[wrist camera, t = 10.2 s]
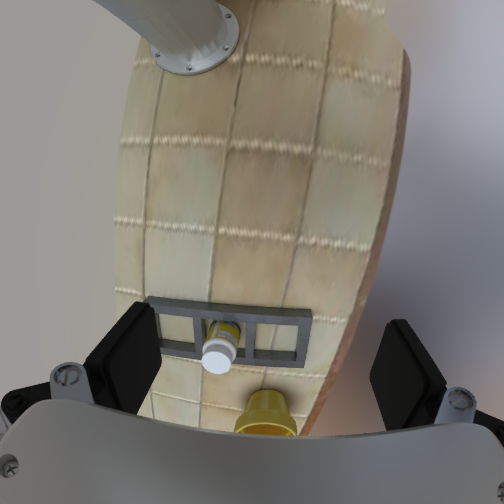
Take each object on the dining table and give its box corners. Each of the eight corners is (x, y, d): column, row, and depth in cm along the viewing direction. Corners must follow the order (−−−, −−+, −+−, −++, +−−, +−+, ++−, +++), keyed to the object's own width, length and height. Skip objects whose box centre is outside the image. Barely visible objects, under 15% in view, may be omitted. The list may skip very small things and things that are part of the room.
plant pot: (292, 378, 45) (294, 420, 36) (298, 413, 48) (299, 453, 39) (234, 383, 47) (225, 424, 37) (246, 418, 50) (240, 456, 40)
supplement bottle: (217, 344, 44) (206, 378, 36) (206, 320, 43) (192, 352, 35) (245, 338, 43) (239, 373, 35) (234, 313, 42) (225, 346, 34)
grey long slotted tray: (148, 296, 43) (142, 303, 40) (310, 309, 41) (312, 317, 39) (155, 344, 45) (150, 352, 43) (302, 358, 44) (303, 368, 41)
